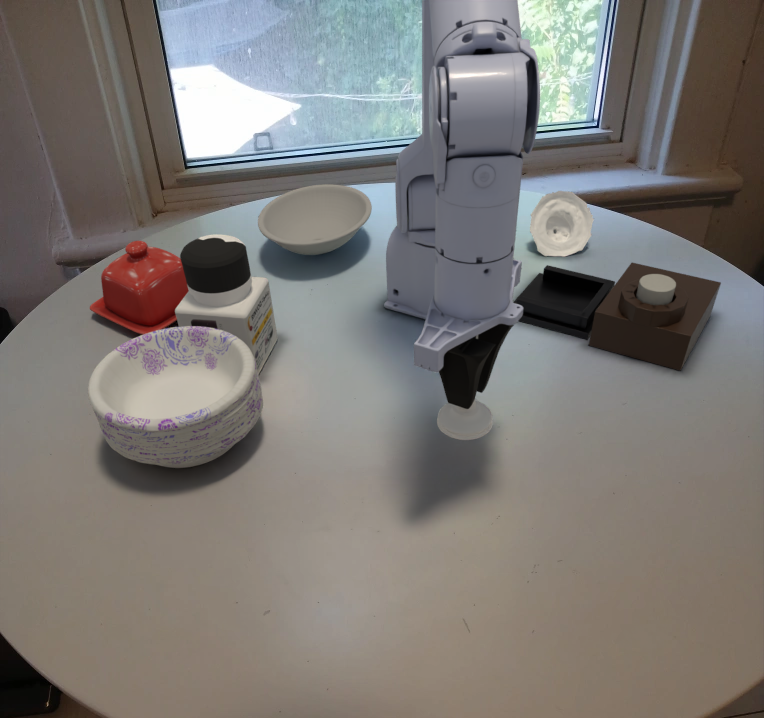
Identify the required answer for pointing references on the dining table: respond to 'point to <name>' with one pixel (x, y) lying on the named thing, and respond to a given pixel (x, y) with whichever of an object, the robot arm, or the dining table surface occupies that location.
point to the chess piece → (465, 420)
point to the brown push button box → (654, 318)
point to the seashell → (561, 224)
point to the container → (227, 294)
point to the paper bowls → (176, 395)
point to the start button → (656, 289)
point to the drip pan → (563, 300)
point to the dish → (315, 218)
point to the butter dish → (142, 289)
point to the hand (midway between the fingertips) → (466, 395)
